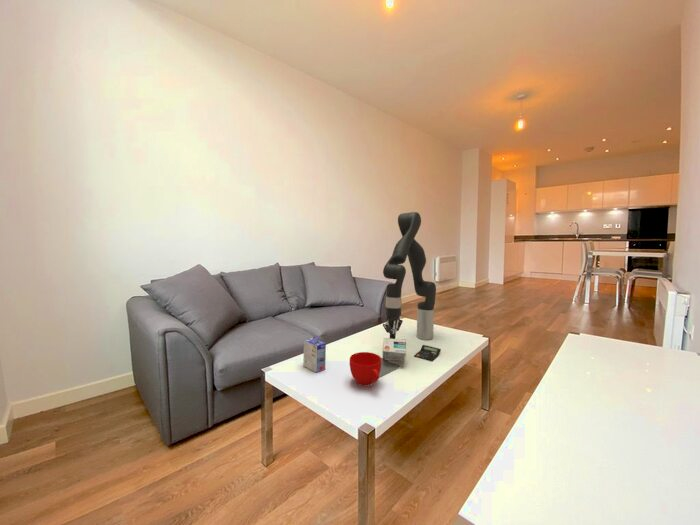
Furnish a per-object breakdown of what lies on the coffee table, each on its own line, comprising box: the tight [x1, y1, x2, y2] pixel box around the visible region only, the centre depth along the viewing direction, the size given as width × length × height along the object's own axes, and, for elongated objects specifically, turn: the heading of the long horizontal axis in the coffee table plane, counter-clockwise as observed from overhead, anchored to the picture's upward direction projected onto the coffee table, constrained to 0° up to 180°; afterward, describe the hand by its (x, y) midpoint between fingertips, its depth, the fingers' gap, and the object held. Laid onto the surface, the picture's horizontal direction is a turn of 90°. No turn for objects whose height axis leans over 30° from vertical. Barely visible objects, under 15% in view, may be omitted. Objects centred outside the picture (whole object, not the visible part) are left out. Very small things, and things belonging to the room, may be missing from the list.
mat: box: [349, 357, 403, 379], centre depth 136 cm, size 16×18×1 cm
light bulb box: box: [381, 337, 407, 361], centre depth 139 cm, size 11×7×11 cm
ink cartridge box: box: [303, 334, 327, 373], centre depth 132 cm, size 10×6×14 cm, turn 46°
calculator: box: [413, 344, 442, 362], centre depth 148 cm, size 9×12×3 cm
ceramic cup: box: [349, 351, 382, 387], centre depth 119 cm, size 13×17×10 cm
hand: (392, 340), depth 143 cm, fingers closed
